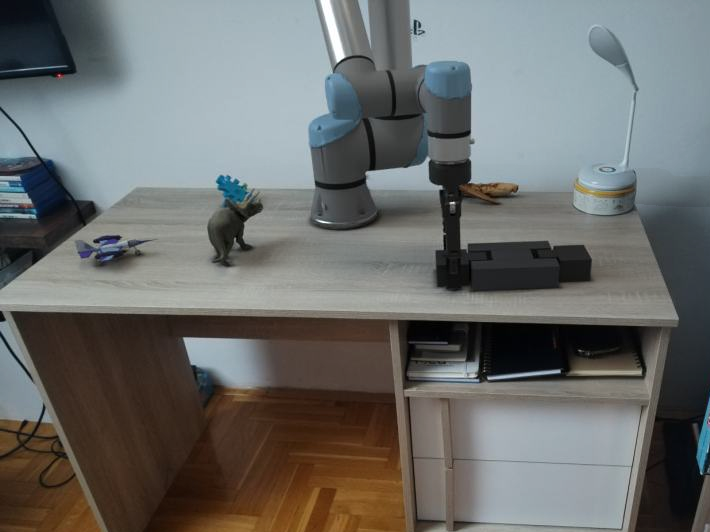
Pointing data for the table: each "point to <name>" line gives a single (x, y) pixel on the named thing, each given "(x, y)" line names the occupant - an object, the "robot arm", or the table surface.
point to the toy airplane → (107, 247)
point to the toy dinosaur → (231, 226)
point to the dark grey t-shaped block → (465, 266)
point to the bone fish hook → (487, 190)
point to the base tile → (513, 266)
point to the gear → (232, 189)
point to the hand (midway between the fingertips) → (452, 276)
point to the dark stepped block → (570, 261)
